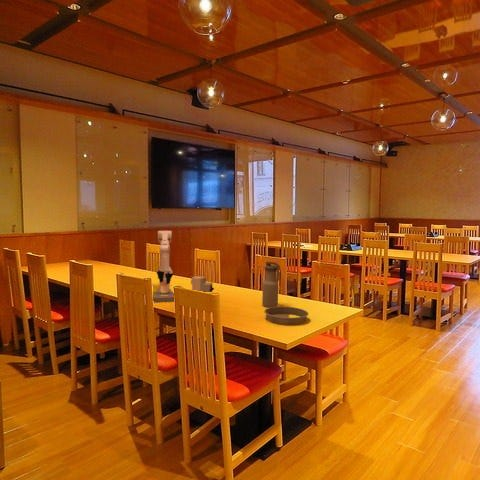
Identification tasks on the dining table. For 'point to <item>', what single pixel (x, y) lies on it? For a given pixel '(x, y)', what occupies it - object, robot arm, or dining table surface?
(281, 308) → the cake pan
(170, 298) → the panel
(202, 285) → the circuit breaker
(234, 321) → the dining table surface
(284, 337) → the dining table surface
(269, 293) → the water bottle
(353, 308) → the dining table surface
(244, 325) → the dining table surface
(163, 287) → the toggle lever
